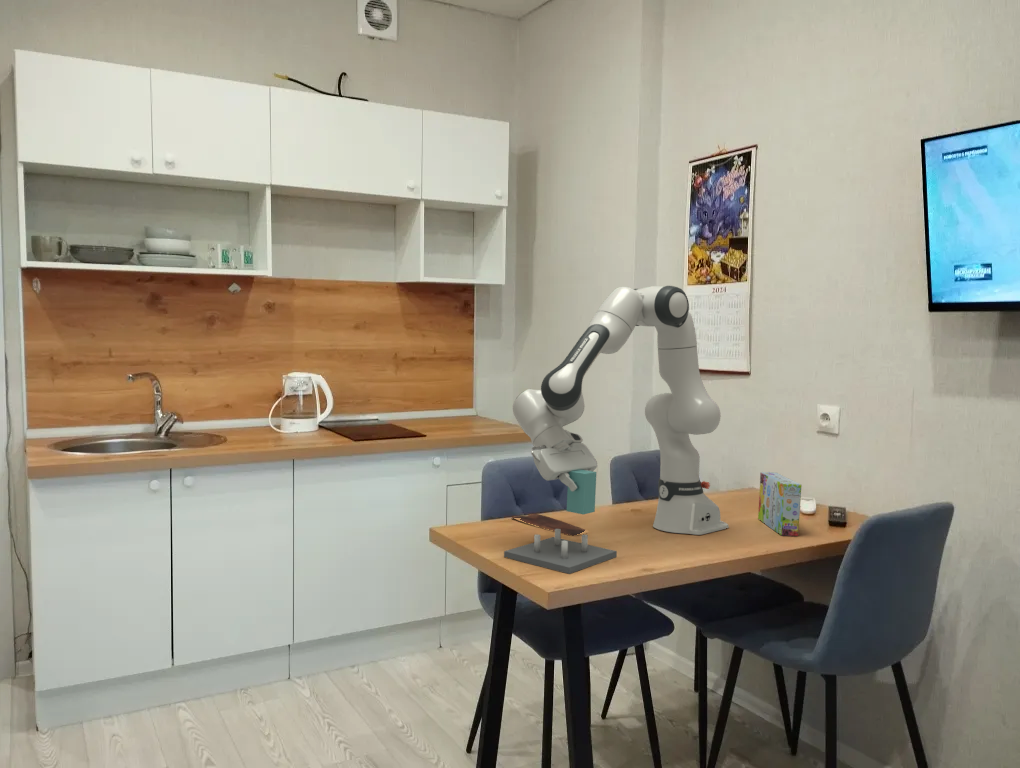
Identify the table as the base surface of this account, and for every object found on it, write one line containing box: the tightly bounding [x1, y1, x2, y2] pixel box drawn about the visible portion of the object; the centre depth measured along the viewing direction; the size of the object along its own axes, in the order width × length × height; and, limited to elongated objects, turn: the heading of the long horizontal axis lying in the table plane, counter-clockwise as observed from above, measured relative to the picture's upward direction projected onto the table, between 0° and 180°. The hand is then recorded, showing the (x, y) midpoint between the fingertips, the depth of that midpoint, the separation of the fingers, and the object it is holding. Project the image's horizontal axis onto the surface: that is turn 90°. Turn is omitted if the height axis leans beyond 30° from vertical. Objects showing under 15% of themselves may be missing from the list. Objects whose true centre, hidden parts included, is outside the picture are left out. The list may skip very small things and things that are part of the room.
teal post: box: [566, 470, 597, 515], centre depth 195 cm, size 5×5×10 cm
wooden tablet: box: [511, 513, 586, 537], centre depth 229 cm, size 26×2×10 cm
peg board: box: [503, 529, 618, 575], centre depth 196 cm, size 20×20×6 cm
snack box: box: [757, 471, 802, 537], centre depth 232 cm, size 21×6×15 cm, turn 0°
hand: (583, 488), depth 195 cm, fingers closed on teal post, 5 cm apart
